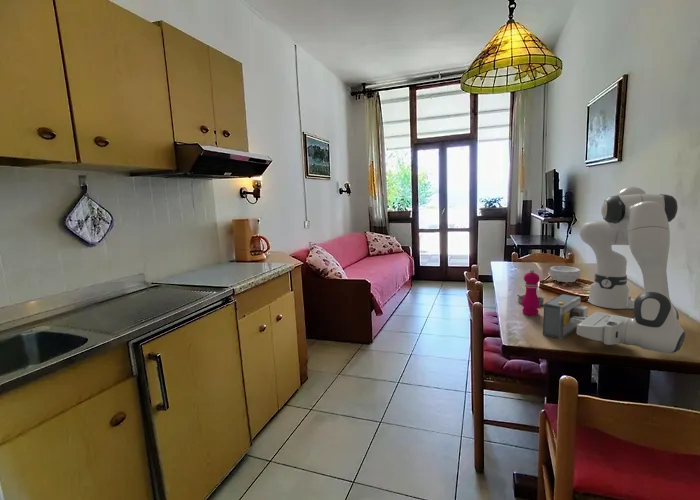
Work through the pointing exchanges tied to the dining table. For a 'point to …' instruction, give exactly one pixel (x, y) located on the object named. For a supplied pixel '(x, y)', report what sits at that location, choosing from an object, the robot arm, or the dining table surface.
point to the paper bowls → (565, 273)
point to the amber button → (566, 318)
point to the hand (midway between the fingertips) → (571, 319)
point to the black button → (575, 313)
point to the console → (559, 316)
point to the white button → (582, 309)
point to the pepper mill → (531, 294)
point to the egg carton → (538, 298)
